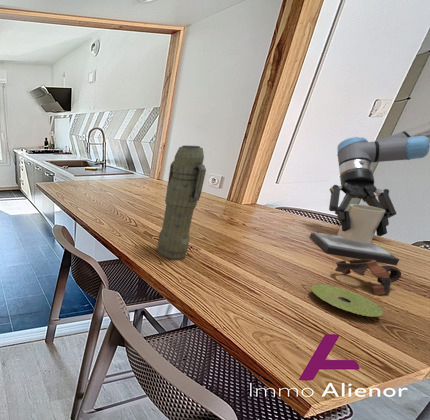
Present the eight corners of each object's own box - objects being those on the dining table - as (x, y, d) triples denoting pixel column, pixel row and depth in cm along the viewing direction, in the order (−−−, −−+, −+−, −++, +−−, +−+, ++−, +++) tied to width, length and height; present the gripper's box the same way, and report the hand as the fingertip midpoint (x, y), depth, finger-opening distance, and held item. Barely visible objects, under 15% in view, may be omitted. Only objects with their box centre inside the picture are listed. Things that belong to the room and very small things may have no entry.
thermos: (166, 243, 88) (184, 144, 77) (195, 259, 78) (221, 147, 67) (147, 247, 85) (163, 145, 74) (175, 264, 75) (198, 148, 63)
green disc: (306, 284, 66) (308, 278, 65) (371, 303, 59) (374, 296, 58) (311, 307, 58) (314, 300, 57) (387, 331, 51) (391, 324, 50)
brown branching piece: (365, 298, 62) (352, 265, 63) (331, 291, 71) (321, 262, 72) (423, 291, 59) (409, 257, 61) (381, 285, 69) (369, 255, 70)
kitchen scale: (368, 246, 87) (372, 239, 87) (396, 265, 76) (400, 257, 75) (309, 237, 95) (311, 231, 94) (326, 253, 83) (329, 245, 82)
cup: (362, 236, 85) (376, 206, 82) (375, 244, 79) (391, 212, 75) (333, 231, 88) (345, 203, 85) (344, 239, 82) (357, 208, 79)
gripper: (323, 166, 89) (328, 221, 81) (407, 171, 80) (422, 233, 72) (312, 178, 95) (315, 230, 87) (389, 184, 87) (400, 242, 78)
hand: (363, 231), depth 80 cm, fingers closed on cup, 7 cm apart
